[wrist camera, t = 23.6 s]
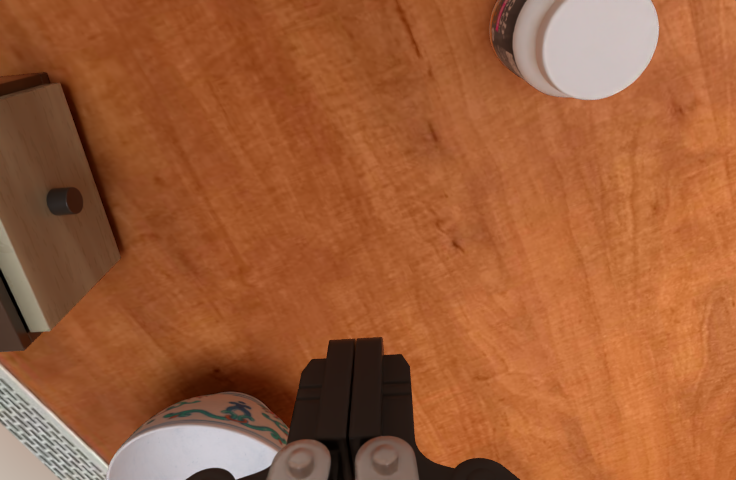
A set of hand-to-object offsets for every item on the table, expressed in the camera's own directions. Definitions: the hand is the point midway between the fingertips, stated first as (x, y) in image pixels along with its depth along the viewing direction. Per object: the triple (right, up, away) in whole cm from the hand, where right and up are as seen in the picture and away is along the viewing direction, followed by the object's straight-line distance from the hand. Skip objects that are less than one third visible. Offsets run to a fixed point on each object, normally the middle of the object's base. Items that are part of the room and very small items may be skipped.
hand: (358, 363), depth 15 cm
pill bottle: (+10, +16, +15) cm, 24 cm away
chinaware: (-11, -12, +30) cm, 34 cm away
